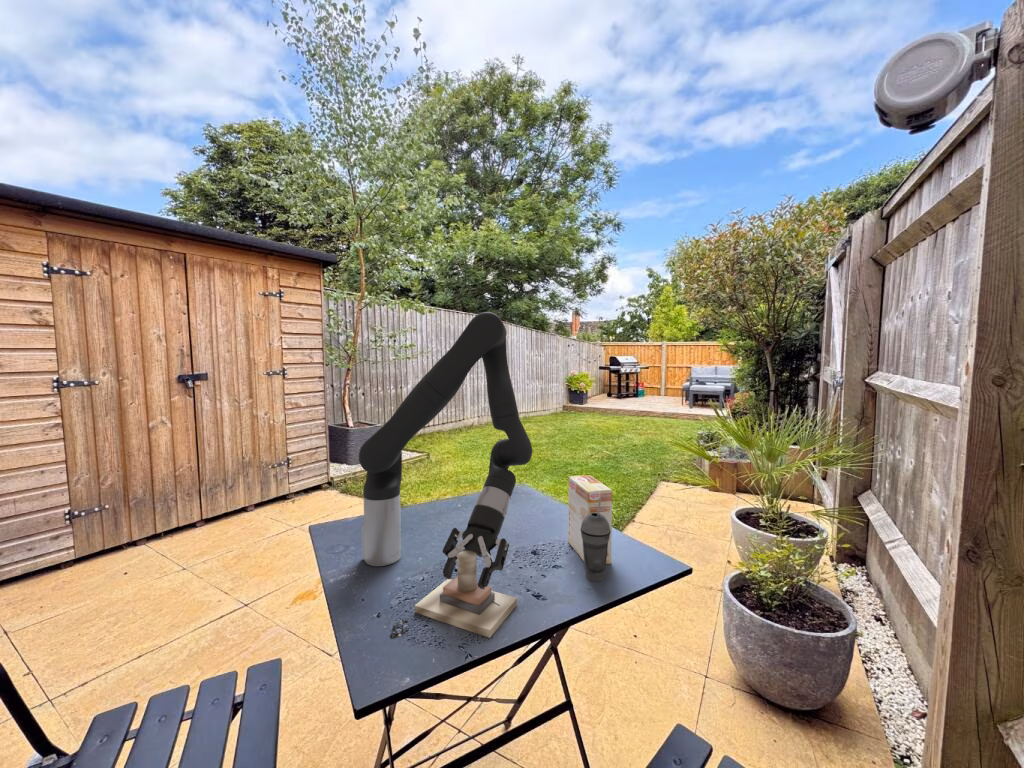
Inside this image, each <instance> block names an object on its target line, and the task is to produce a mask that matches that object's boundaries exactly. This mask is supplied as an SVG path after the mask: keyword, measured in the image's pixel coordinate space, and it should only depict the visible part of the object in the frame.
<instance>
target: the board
mask: <svg viewBox="0 0 1024 768" xmlns="http://www.w3.org/2000/svg"><path fill="white" fill-rule="evenodd" d="M452 580H453V579H452V578H450V579H446V580H444V581H443V582H442V583H441V584H439V585H438V586H437V587H436V588H435V589H433V590H432V591H431V592H429V594H428V593H427V595H426V596H424V597H423V598H422V599H421V600H420V601H419V602H417V603H416V604H414V613H416V614H419V615H422V616H424V617H428V618H430V619H433V620H435V621H439V622H442V623H444V624H445V623H446V624H447V625H451V626H453V627H456V628H459V629H463V630H466V631H469V632H471V633H474V634H477V635H480V636H483V637H486V638H491V637H492V636H493V635H494V634H495V632H496V631H497V630H498V629H499V628H500V626H501V625H502V624H503V623H504V622H505V620H507V618H508V616H509V615H510V614H511V613H512V612H513V610H514V609H515V608H516V606H517V605H518V597H517V596H511V595H508V594H505V593H501V592H498V591H493V590H491V592H493V593H495V600H494V601H493V602H492V603H491V604H490V605H489V606H488V607H487V608H486V609H485V610H484V611H483V612H482V613H481V614H480V615H478V614H475V613H472V612H469V611H466V610H463V609H460V608H458V607H455V606H452V605H449V604H446V603H443V602H440V594H441V593H442V592H443V587H444V586H445V585H446V584H448V583H449V582H450V581H452Z"/></svg>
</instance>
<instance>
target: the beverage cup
mask: <svg viewBox="0 0 1024 768" xmlns="http://www.w3.org/2000/svg"><path fill="white" fill-rule="evenodd" d="M600 505H601V497H599V504H598V512H597V513H591V514H589V515H587V516H586V517H585V518H584V519H583V521H582V524H581V529H580V531H581V536H582V539H583V553H584V561H583V565H584V573H585V578H586V579H587V580H589V581H592V582H600V581H603V580H604V579H605V574H606V566H607V564H606V558H607V549H608V541H609V537H610V533H611V531H610V525H609V522H608V521H607V519H606V518H605V517H604V516H603V515H601V514H599V513H600Z"/></svg>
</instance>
